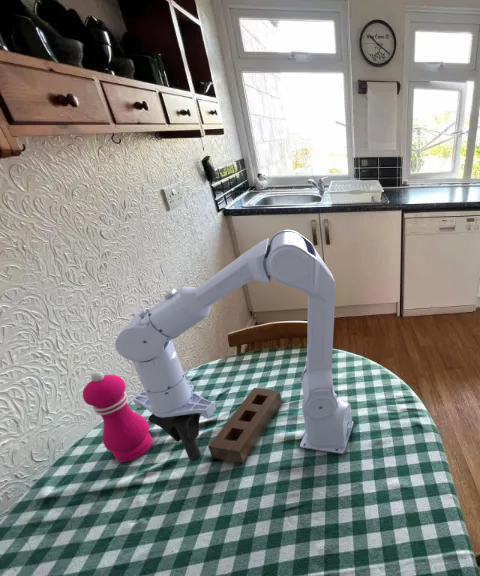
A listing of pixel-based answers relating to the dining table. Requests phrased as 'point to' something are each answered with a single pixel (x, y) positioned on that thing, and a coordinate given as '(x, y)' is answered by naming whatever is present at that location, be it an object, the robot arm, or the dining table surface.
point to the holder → (245, 426)
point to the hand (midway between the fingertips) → (187, 437)
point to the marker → (190, 448)
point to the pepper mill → (117, 417)
